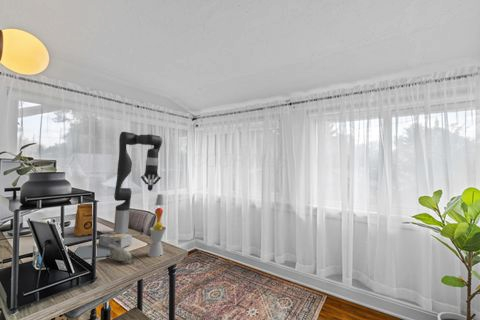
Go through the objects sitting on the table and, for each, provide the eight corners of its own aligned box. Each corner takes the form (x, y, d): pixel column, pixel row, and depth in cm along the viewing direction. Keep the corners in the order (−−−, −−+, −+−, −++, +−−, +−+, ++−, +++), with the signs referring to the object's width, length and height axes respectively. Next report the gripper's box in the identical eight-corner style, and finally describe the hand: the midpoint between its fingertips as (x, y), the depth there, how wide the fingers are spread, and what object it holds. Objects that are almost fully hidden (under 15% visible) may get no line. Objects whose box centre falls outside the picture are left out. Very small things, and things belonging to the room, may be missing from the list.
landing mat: (78, 247, 128) (78, 246, 128) (120, 243, 138) (120, 242, 138) (70, 260, 110) (70, 259, 110) (119, 255, 120) (119, 254, 120)
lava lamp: (145, 253, 126) (150, 193, 128) (160, 250, 132) (165, 193, 133) (150, 258, 119) (155, 195, 121) (166, 255, 125) (170, 195, 126)
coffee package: (97, 234, 152) (100, 203, 153) (75, 238, 143) (78, 205, 144) (93, 231, 159) (96, 201, 160) (72, 234, 150) (75, 202, 151)
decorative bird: (125, 266, 109) (126, 251, 109) (103, 259, 115) (105, 245, 115) (134, 262, 114) (135, 248, 114) (113, 256, 120) (114, 242, 120)
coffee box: (131, 244, 136) (110, 241, 140) (132, 234, 137) (111, 231, 140) (120, 249, 128) (98, 245, 131) (121, 238, 128) (99, 235, 131)
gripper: (161, 165, 150) (159, 190, 149) (141, 164, 144) (138, 189, 143) (163, 165, 143) (161, 191, 142) (141, 164, 137) (139, 191, 136)
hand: (149, 190), depth 143 cm, fingers closed
